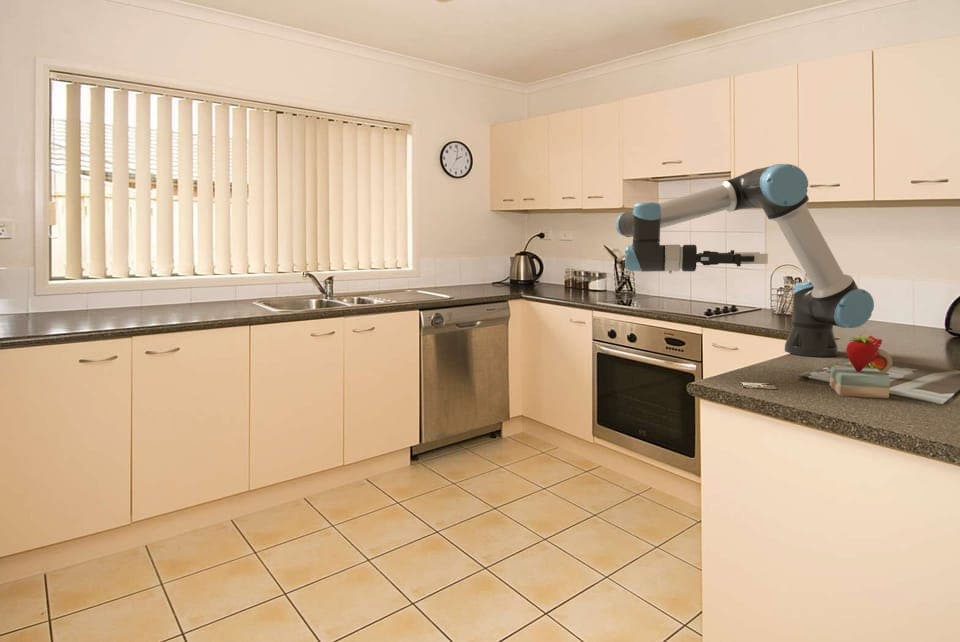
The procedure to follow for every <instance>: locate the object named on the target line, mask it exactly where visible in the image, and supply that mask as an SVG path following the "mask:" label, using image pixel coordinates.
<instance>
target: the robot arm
mask: <svg viewBox="0 0 960 642" xmlns="http://www.w3.org/2000/svg"><path fill="white" fill-rule="evenodd" d="M808 188H809V180H808V177H807V174H806V173H805V172H804V171H803V170H802V168H800V167H799V166H796V165H795V164H791V163H790V164H789V163H777V164H773V165H771V166H766V167H760V168H756V169H753V170H750V171H748V172H745V173H744V174H741V175H737V176H736V177H733V178H731V179H727V180H724V181H722V182H721V183H720V185H718V186H714V187H711V188H707V189H704V190H701V191H697V192H693V193H691V194H687V195H684V196H680V197H676V198H672V199H670V200H666V201H664V202H637V203H635V204H634V205H633V210H631V211H625V212H623V213H621V214H619V216H618V217H617V218H616V219H615V220H616V221H615V230H616V232H617V233H618V234H619V235H621V236H623V237H626V238H631V237H632V244H628V245H626V246H625V253H624V255H625V256H624V257H625V258H624V266H625V269H626V270H627V271H629V272H641V273H642V272H668V273H669V274H672V273H673V272H680V270H681V271H682V272H695V271H696V270H697V263H700V264H702V266H717V265H720V264H722V265H723V264H725V265H736V267H741V266H742V265H768V261H769V260H768V258H769V253H760V252H759V251H757V252H755V251H753V252H751V251H749V252H748V251H747V252H746V251H743V252H740V251H739V252H738V251H737V252H735V250H734V249H731V250H730V252H729V251H728V252H719V251H711V250H703V251H702V252H698V249H697V245H696V244H684V245H682V246H681V245H680V244H660V242H661V229H663V228H667V227H670V226H674V225H677V224H681V223H683V222H687V221H691V220H695V219H698V218H701V217H705V216H709V215H712V214H716V213H718V212H719V213H720V212H723V211H727V212H729V213H731V212H734V211H738V210H745V209H762V210H763V212H764V214H765V215H766V217H767V219H768V220H770V221H773V222H776V223H777V224H778V226H779V229H780V230H781V232H782V233H783V236H784V237H785V239H786V240H787V242H788V244H789V246H790V247H791V250H792V251H793V253H794V255H795V257H796V258H797V260H798V262H799V263H800V266H801V268H802V269H803V271H804V273H805V274H806V276H807V277H808V280H809V281H802V282H797V283H796V284H795V285H794V289H793V294H792V296H793V302H792V303H793V304H792V320H791V323H792V324H791V329H790V331H789V334H788V336H787V339H786V341H785V343H784V352H786V353H788V354H793V355H797V356H798V355H799V356H806V357H823V358H824V357H835V356H837V355H838V349H839V348H838V344H837V341H836V338H835V334H834V333H835V332H834V326H835V327H839V328H843V329H844V328H845V329H854V328H855V329H856V328H858V327H862V326H863V325H864V324H866V323H867V322H868V321H869V320H870V318H871V317H872V312H873V311H874V308H875V301H874V298H873V296H872V294H871V293H870V292H868V291H867V290H866V289H864V288H859V287H858V286H857V283H856V282H855V280H854V278H853V277H852V276H851V275H848V274H845V273H844V272H843V270H842V269H841V266H840V265H839V263H838V262H837V259H836V257H835V256H834V254H833V252H832V251H831V249H830V247H829V245H828V243H827V241H826V239H825V238H824V236H823V233H821V232H822V231H821V230H820V229H819V226H818V225H817V223H816V221H815V220H814V217H813V216H812V214H811V213H810V211H809V208H808V207H807V205H808V203H809V200H810V199H809V198H810V197H809V196H808V194H807V193H808Z"/></svg>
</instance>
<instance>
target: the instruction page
mask: <svg viewBox="0 0 960 642" xmlns="http://www.w3.org/2000/svg"><path fill="white" fill-rule="evenodd" d="M741 383H742V384H743V385H748V386H752V387H758V385H760V386H761V387H763V386H764V385H762V384H764V383H760V382H746V381H745V382H740V384H741ZM742 384H741V385H742ZM765 386H767V385H765Z"/></svg>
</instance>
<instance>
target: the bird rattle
mask: <svg viewBox="0 0 960 642" xmlns="http://www.w3.org/2000/svg"><path fill="white" fill-rule="evenodd" d="M867 338H868V339H872V341H874V342H871V341H869V342H871V343H874V345H875V346H876V353H875V356H874V358H873V359H872V360H871V361H870V362H869V364H867V365H866V366H865V367H864V368H875V369H878V370H880V371H881V372H883V373H884V374H887V373H888V372H889V371H890V370H891V368H892V367H893V358H892V356H891V355H890V353H888V352H887V351H886V350H884V349H880V348H881V347H880V346H881V345H882V343H883V339H881V338H876V337H874V336H872V335H869V336H868V337H867ZM850 364H851V363H850ZM851 367H853V365H852V364H851Z"/></svg>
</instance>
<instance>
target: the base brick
mask: <svg viewBox="0 0 960 642" xmlns="http://www.w3.org/2000/svg"><path fill="white" fill-rule="evenodd" d="M829 375H830V377H829V387H830V386H831V387H830V388H831V389H832V390H833V391H835V392H836V394H838V395H839V396H841V397H842V396H843V397H857V398H858V397H859V398H872V399H873V398H876V399H889V397H890V386H891V376H889V375H887V373H885V374H884V373H883V372H881V371H880V370H878V369H875V368H873V367H871V368H863V369H862V370H861V371H859V372H858V371H856V370H855V368H854V367H852V366H851V367H848V366H830V374H829Z"/></svg>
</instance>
